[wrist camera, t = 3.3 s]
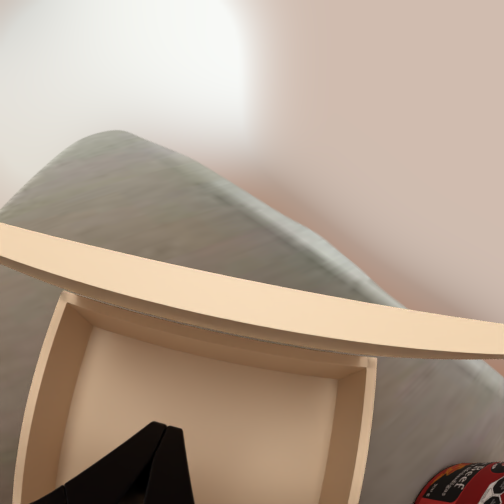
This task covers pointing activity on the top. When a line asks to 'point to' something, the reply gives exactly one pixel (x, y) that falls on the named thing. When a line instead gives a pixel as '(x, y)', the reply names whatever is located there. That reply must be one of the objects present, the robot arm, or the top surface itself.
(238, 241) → the top surface
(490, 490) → the canned food
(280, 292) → the carton flap
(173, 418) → the carton
